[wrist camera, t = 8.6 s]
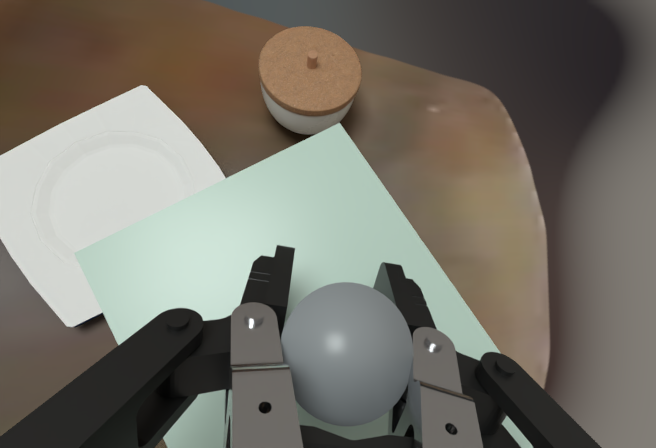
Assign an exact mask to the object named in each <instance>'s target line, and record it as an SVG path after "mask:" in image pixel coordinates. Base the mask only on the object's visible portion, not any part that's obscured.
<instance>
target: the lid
mask: <svg viewBox="0 0 656 448" xmlns="http://www.w3.org/2000/svg"><path fill="white" fill-rule="evenodd" d="M277 245H281V246H287V247H293V248H295V253H294V261H293V268H292V276H291V283H290V291H289V298H288V306H287V311H286V317H285V322H284V328H283V331H282V334H281V339H280V342H281V349H282V356H283V362H284V364H288V365H289V367H290V371H291V377H292V383H293V389H294V395H295V401H296V407H297V413H298V419H299V425H306V426H315V427H317V428H320V429H323V430H325V431H328V432H331V433H333V434H336V435H339V436H341V437H344V438H347V439H350V440H360V439H366V438H372V437H378V436H384V435H388V420H389V410H390V409H391V408H392V407H393V406H394V405H395V404H396V403H397V402H398V400H399V399H400V398H401V396H402V395H403V393H404V391H405V389H406V387H407V385H408V380H409V375H410V369H411V364H412V359H413V356H414V353H413V343H412V337H411V334H410V330H409V328H408V325H407V323H406V321H405V319H404V317H403V315H402V314H401V312H400V311H399V309H398V308H397V307H396V306H395V305H394V303H393V302H392V301H391V300H390V299H388V298H387V297H386V296H385V295H384V294H382V293H380V292H379V291H377V290H375V289H373V287H374V284H375V281H376V277H377V274H378V271H379V268H380V265H381V263H382V262H386V263H392V264H398V265H401V266H402V268H403V271H404V274H405V277H406V278H408V279H413V280H414V282H415V283H416V284H417V285H418V286H419V287H420V288H421V291H422V293H423V296H424V299H425V301H426V303H427V306H428V308H429V311H430V313H431V316H432V318H433V321H434V323H435V326H436V328H437V330H439V331H441V332H442V333H444V334H445V335H446V336H448V337H449V338H450V339H451V341H452V342H453V344H454V346H455V350H456V351H457V352H459V353H461V354H464V355H466V356H469V357H472V358H474V359H477V360H479V361H480V359H481V357H482V355H483V354H485V353H487V352H497V353H500V352H499V350H498V349H497V347H496V346H495V345H494V343H493V342H492V340H491V339H490V337H489V336H488V335H487V333H486V332H485V330H484V329H483V327H482V326H481V324H480V323H479V322H478V320H477V319H476V317H475V316H474V314H473V313H472V312H471V310H470V309H469V307H468V306H467V304H466V303H465V302H464V300H463V299H462V297H461V296H460V294H459V293H458V292H457V290H456V289H455V287H454V286H453V284H452V283H451V282H450V280H449V279H448V277H447V276H446V274H445V273H444V272H443V270H442V269H441V267H440V266H439V264H438V263H437V261H436V260H435V259H434V257H433V256H432V254H431V253H430V251H429V250H428V249H427V247H426V246H425V244H424V243H423V241H422V240H421V239H420V237H419V236H418V234H417V233H416V231H415V230H414V229H413V227H412V226H411V224H410V223H409V221H408V220H407V219H406V217H405V216H404V214H403V213H402V211H401V210H400V209H399V207H398V206H397V204H396V203H395V201H394V200H393V198H392V197H391V196H390V194H389V193H388V191H387V190H386V188H385V187H384V186H383V184H382V183H381V181H380V180H379V178H378V177H377V176H376V174H375V173H374V171H373V170H372V168H371V167H370V166H369V164H368V163H367V161H366V160H365V158H364V157H363V156H362V154H361V153H360V151H359V150H358V148H357V147H356V145H355V144H354V143H353V141H352V140H351V138H350V137H349V135H348V134H347V133H346V131H345V130H344V128H343V127H342V125H341V124H340V123H338V124H336V125H334V126H332V127H330V128H328V129H326V130H324V131H322V132H320V133H318V134H316V135H314V136H312V137H310V138H308V139H305V140H303V141H301V142H299V143H297V144H295V145H293V146H291V147H289V148H287V149H285V150H283V151H281V152H279V153H277V154H275V155H273V156H271V157H269V158H267V159H265V160H263V161H261V162H259V163H257V164H255V165H252V166H250V167H248V168H246V169H244V170H242V171H240V172H238V173H236V174H234V175H232V176H230V177H228V178H226V179H224V180H222V181H220V182H218V183H216V184H214V185H212V186H210V187H208V188H206V189H204V190H202V191H200V192H197V193H195V194H193V195H191V196H189V197H187V198H185V199H183V200H181V201H179V202H177V203H175V204H173V205H171V206H169V207H167V208H165V209H163V210H161V211H159V212H157V213H155V214H153V215H151V216H149V217H147V218H144V219H142V220H140V221H138V222H136V223H134V224H132V225H130V226H128V227H126V228H124V229H122V230H120V231H118V232H116V233H114V234H112V235H110V236H108V237H106V238H104V239H102V240H100V241H98V242H96V243H94V244H92V245H89V246H87V247H85V248H83V249H81V250H79V251H77V252H75V253H74V254H75V256H76V258H77V260H78V262H79V264H80V266H81V268H82V271H83V273H84V275H85V277H86V279H87V281H88V283H89V285H90V287H91V289H92V291H93V293H94V295H95V298H96V300H97V302H98V304H99V306H100V308H101V310H102V312H103V314H104V316H105V318H106V320H107V322H108V324H109V327H110V329H111V331H112V333H113V335H114V337H115V339H116V341H117V343H118V345H120V344H121V343H122V342H124V341H125V340H126V339H128V338H129V337H130V336H132V335H133V334H134V333H135V332H137V331H138V330H139V329H141V328H142V327H143V326H145V325H146V324H147V323H148V322H150V321H151V320H152V319H154V318H155V317H156V316H158V315H159V314H160V313H162V312H164V311H167V310H170V309H174V308H187V309H191V310H194V311H196V312H198V313H199V314H200V315H201V316H202V318H203V321H207V320H216V319H221V318H225V317H227V316H229V315H231V314H232V312H233V311H234V309H235V308H236V307H238V306H240V303H241V300H242V296H243V293H244V290H245V287H246V284H247V280H248V277H249V274H250V272H251V268H252V265H253V262H254V261H255V260H256V259H257V258H259V257H260V256H261V255H263V256H269V257H274V256H275V251H276V247H277ZM500 354H501V353H500ZM224 403H225V390H220V391H214V392H208V393H203V394H198V396H197V398H196V399H195V400H194V401H193V403H192V404H191V405H190V406H189V407H188V409H187V410H186V411H185V412H184V413H183V414H182V416H181V417H180V418H179V419H178V420H177V422H176V423H175V424H174V425H173V426H172V427H171V429H170V430H169V431H168V432H167V433H166V435H165V436H164V437H163V439H164V441H165V443H166V445H167V447H168V448H223V441H224ZM502 425H503V426H504V427H505V428H506V429H507V431H508V432H509V433H510V434H511V436H512V437H513V438H514V439H515V440H516V442H517V443H518V444H519V445H520V447H521V448H533V446H532V445H531V443H530V442H529V441H528V440H527V439H526V437H525V436H524V435H523V434H522V433H521V431H520V430H519V429H518V428H517V427H516V426H515V424H514V423H513V422H512V421H511V420H510V418H509V417H508V416H506V418H505V419H504V421H503V422H502Z"/></svg>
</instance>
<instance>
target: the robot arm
mask: <svg viewBox="0 0 656 448" xmlns="http://www.w3.org/2000/svg"><path fill="white" fill-rule="evenodd" d="M294 253H295V248H293V247H287V246H281V245H277V247H276V251H275V256H274V257H269V256H263V255H261V256H260V257H259V258H257V259H256V260H255V261H254V262H253V265H252V268H251V272H250V274H249V277H248V280H247V284H246V287H245V290H244V293H243V296H242V300H241V303H240V306H238V307H236V308H235V309H234V311H233V312H232V314H231V315H229V316H227V317H225V318H221V319H216V320H207V321H203V318H202V316H201V315H200V314H199V313H198V312H196V311H194V310H191V309H187V308H174V309H170V310H167V311H164V312H162V313H160V314H159V315H158V316H156V317H155V318H154V319H152V320H151V321H150V322H148V323H147V324H146V325H145V326H143V327H142V328H141V329H139V330H138V331H137V332H135V333H134V334H133V335H132V336H130V337H129V338H128V339H126V340H125V341H124V342H122V343H121V344H120V345H119V346H117V347H116V348H115V349H113V350H112V351H111V352H109V353H108V354H107V355H106V356H104V357H103V358H102V359H100V360H99V361H98V362H97V363H95V364H94V365H93V366H91V367H90V368H89V369H87V370H86V371H85V372H84V373H82V374H81V375H80V376H78V377H77V378H76V379H74V380H73V381H72V382H71V383H69V384H68V385H67V386H65V387H64V388H63V389H61V390H60V391H59V392H58V393H56V394H55V395H54V396H52V397H51V398H50V399H48V400H47V401H46V402H45V403H43V404H42V405H41V406H39V407H38V408H37V409H35V410H34V411H33V412H32V413H30V414H29V415H28V416H26V417H25V418H24V419H23V420H21V421H20V422H19V423H17V424H16V425H15V426H13V427H12V428H11V429H10V430H8V431H7V432H6V433H4V434H3V435H2V436H0V448H155V446H156V445H157V444H158V443H159V442H160V440H161V439H162V438H163V437H164V436H165V435H166V433H167V432H168V431H169V430H170V429H171V427H172V426H173V425H174V424H175V423H176V422H177V420H178V419H179V418H180V417H181V416H182V414H183V413H184V412H185V411H186V410H187V409H188V407H189V406H190V405H191V404H192V403H193V401H194V400H195V399H196V398H197V396H198V394H203V393H208V392H214V391H220V390H225V403H224V441H223V448H521V447H520V445H519V444H518V443H517V442H516V440H515V439H514V438H513V437H512V436H511V434H510V433H509V432H508V431H507V429H506V428H505V427H504V426H503V425H502V422H503V421H504V419H505V418H506V416H508V417H509V418H510V420H511V421H512V422H513V423H514V424H515V426H516V427H517V428H518V429H519V430H520V431H521V433H522V434H523V435H524V436H525V437H526V439H527V440H528V441H529V442H530V443H531V445H532V446H533V448H601V447H600V446H599V445H598V444H597V443H596V442H595V441H594V440H593V439H592V438H591V437H590V436H589V435H588V434H587V433H586V432H585V431H584V430H583V429H582V428H581V427H580V426H579V425H578V424H577V423H576V422H575V421H574V420H573V419H572V418H571V417H570V416H569V415H568V414H567V413H566V412H565V411H564V410H563V409H562V408H561V407H560V406H559V405H558V404H557V403H556V402H555V401H554V400H553V399H552V398H551V397H550V396H549V395H548V394H547V393H546V392H545V391H544V390H543V389H542V388H541V387H540V386H539V385H538V384H537V383H536V382H535V381H534V380H533V379H532V378H531V377H530V376H529V375H528V374H527V373H526V372H525V371H524V370H523V369H522V368H521V367H520V366H519V365H518V364H517V363H516V362H515V361H514V360H512V359H511V358H509V357H507V356H505V355H503V354H500V353H497V352H487V353H485V354H483V355H482V357H481V359H480V361H479V360H477V359H474V358H472V357H469V356H466V355H464V354H461V353H459V352H457V351H456V350H455V346H454V344H453V342H452V341H451V339H450V338H449V337H448V336H446V335H445V334H444V333H442V332H441V331H439V330H437V328H436V326H435V323H434V321H433V318H432V316H431V313H430V311H429V308H428V306H427V303H426V301H425V299H424V296H423V293H422V291H421V288H420V287H419V286H418V285H417V284H416V283H415V282H414V280H413V279H408V278H406V277H405V274H404V271H403V268H402V266H401V265H398V264H392V263H386V262H382V263H381V265H380V268H379V271H378V274H377V277H376V281H375V284H374V287H373V289H375V290H377V291H379V292H380V293H382V294H384V295H385V296H386V297H387V298H388V299H390V300H391V301H392V302H393V303H394V305H395V306H396V307H397V308H398V309H399V311H400V312H401V314H402V315H403V317H404V319H405V321H406V323H407V325H408V328H409V330H410V334H411V337H412V343H413V353H414V356H413V359H412V364H411V369H410V375H409V380H408V385H407V387H406V389H405V391H404V393H403V395H402V396H401V398H400V399H399V400H398V402H397V403H396V404H395V405H394V406H393V407H392V408H391V409H390V410H389V420H388V435H384V436H378V437H372V438H366V439H360V440H350V439H347V438H344V437H341V436H339V435H336V434H333V433H331V432H328V431H325V430H323V429H320V428H317V427H315V426H306V425H299V419H298V413H297V407H296V401H295V395H294V389H293V383H292V377H291V371H290V367H289V365H288V364H284V362H283V356H282V349H281V342H280V339H281V334H282V331H283V328H284V322H285V317H286V311H287V306H288V298H289V291H290V283H291V276H292V268H293V261H294Z"/></svg>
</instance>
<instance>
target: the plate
mask: <svg viewBox="0 0 656 448" xmlns="http://www.w3.org/2000/svg"><path fill="white" fill-rule="evenodd" d="M224 179H226V178H225V176H224V174H223V173H222V171H221V170H220V168H219V166H218V165H217V164H216V162H215V161H214V160H213V158H212V157H211V156H210V154H209V153H208V152H207V150H206V149H205V148H204V146H203V145H202V143H201V142H200V141H199V140H198V139H197V138H196V137H195V135H194V134H193V133H192V132H191V131H190V130H189V129H188V127H187V126H186V125H185V124H184V123H183V122H182V121H181V120H180V119H179V118H178V117H177V116H176V115H175V114H174V113H173V112H172V111H171V110H170V109H169V108H168V107H167V106H166V105H165V104H164V103H163V102H162V101H161V100H160V99H159V98H158V97H157V96H156V95H155V94H154V93H153V92H152V91H151V90H150V89H149V88H148V87H147V86H142V85H141V86H139V87H137V88H134V89H132V90H130V91H128V92H126V93H124V94H122V95H120V96H118V97H115V98H113V99H111V100H109V101H107V102H105V103H103V104H101V105H98V106H96V107H94V108H92V109H90V110H88V111H86V112H84V113H82V114H80V115H78V116H76V117H73V118H71V119H69V120H67V121H65V122H63V123H61V124H59V125H57V126H55V127H53V128H52V129H50V130H48V131H46V132H44V133H42V134H40V135H38V136H36V137H34V138H33V139H31V140H29V141H27V142H25V143H23V144H21V145H19V146H17V147H16V148H14V149H12V150H10V151H8V152H6V153H4V154H3V155H1V156H0V238H1V240H2V242H3V243H4V245H5V247H6V248H7V250H8V252H9V253H10V255H11V257H12V258H13V260H14V261H15V262H16V264H17V265H18V267H19V268H20V269H21V271H22V272H23V274H24V275H25V277H26V278H27V279H28V281H29V282H30V284H31V285H32V286H33V287H34V288H35V290H36V291H37V292H38V293H39V294H40V295H41V297H42V298H43V299H44V300H45V301H46V302H47V304H48V305H49V306H50V307H51V308H52V310H53V311H54V312H55V313H56V314H57V315H58V317H59V318H60V319H61V320H62V321H63V322H64V324H65V325H66V326H68V327H77V326H79V325H81V324H83V323H85V322H87V321H89V320H91V319H93V318H95V317H97V316H99V315H101V314H103V312H102V310H101V308H100V306H99V304H98V302H97V300H96V298H95V295H94V293H93V291H92V289H91V287H90V285H89V283H88V281H87V279H86V277H85V275H84V273H83V271H82V268H81V266H80V264H79V262H78V260H77V258H76V256H75V254H74V253H75V252H77V251H79V250H81V249H83V248H85V247H87V246H89V245H92V244H94V243H96V242H98V241H100V240H102V239H104V238H106V237H108V236H110V235H112V234H114V233H116V232H118V231H120V230H122V229H124V228H126V227H128V226H130V225H132V224H134V223H136V222H138V221H140V220H142V219H144V218H147V217H149V216H151V215H153V214H155V213H157V212H159V211H161V210H163V209H165V208H167V207H169V206H171V205H173V204H175V203H177V202H179V201H181V200H183V199H185V198H187V197H189V196H191V195H193V194H195V193H197V192H200V191H202V190H204V189H206V188H208V187H210V186H212V185H214V184H216V183H218V182H220V181H222V180H224Z"/></svg>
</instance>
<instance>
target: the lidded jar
mask: <svg viewBox="0 0 656 448" xmlns="http://www.w3.org/2000/svg"><path fill="white" fill-rule="evenodd" d="M258 68H259V76H260V81H261V88H262V93H263V97H264V100H265V103H266V105H267V108H268V109H269V111H270V113H271V114H272V116H273V117H274V118H275V119H276V120H277V121H278V122H279V123H280V124H281V125H282V126H284V127H285V128H287V129H289V130H291V131H293V132H296V133H299V134H306V135H312V134H318V133H320V132H322V131H324V130H326V129H328V128H330V127H332V126H334V125H336V124H338V123H339V122H340V121H341V120H342V119H343V118H344V116H345V115H346V114H347V112H348V110H349V109H350V107H351V105H352V103H353V100H354V98H355V96H356V94H357V92H358V89H359V86H360V83H361V77H362V70H361V65H360V61H359V59H358V57H357V55H356V53H355V52H354V50H353V49H352V48H351V46H350V45H349V44H348V43H346V41H344V40H343V39H342V38H340V37H339V36H337V35H336V34H334V33H332V32H330V31H327V30H324V29H321V28H316V27H308V26H303V27H294V28H289V29H286V30H284V31H282V32H279V33H277V34H276V35H275V36H273V37H272V38H271V39H270V40H269V41H268V42H267V43H266V44H265V46H264V47H263V49H262V51H261V53H260V57H259V67H258Z"/></svg>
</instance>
